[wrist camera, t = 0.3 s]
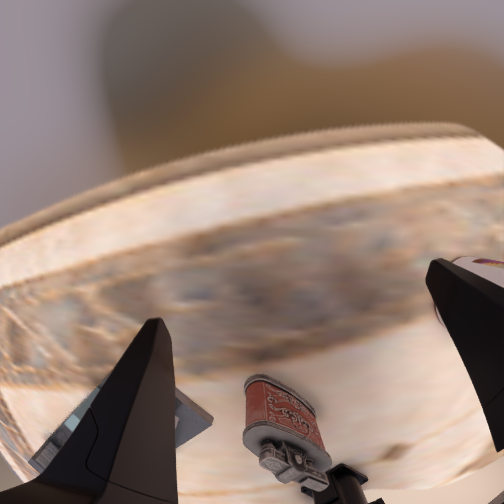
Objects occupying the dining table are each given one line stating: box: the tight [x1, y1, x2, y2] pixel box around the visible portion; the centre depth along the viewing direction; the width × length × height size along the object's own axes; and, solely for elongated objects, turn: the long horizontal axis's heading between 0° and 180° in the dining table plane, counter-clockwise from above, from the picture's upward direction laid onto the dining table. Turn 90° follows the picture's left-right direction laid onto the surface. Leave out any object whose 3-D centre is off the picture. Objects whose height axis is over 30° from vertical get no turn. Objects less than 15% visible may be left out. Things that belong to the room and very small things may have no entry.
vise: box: [28, 374, 213, 474], centre depth 21 cm, size 10×26×6 cm, turn 134°
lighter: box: [243, 374, 332, 491], centre depth 19 cm, size 8×3×10 cm, turn 48°
